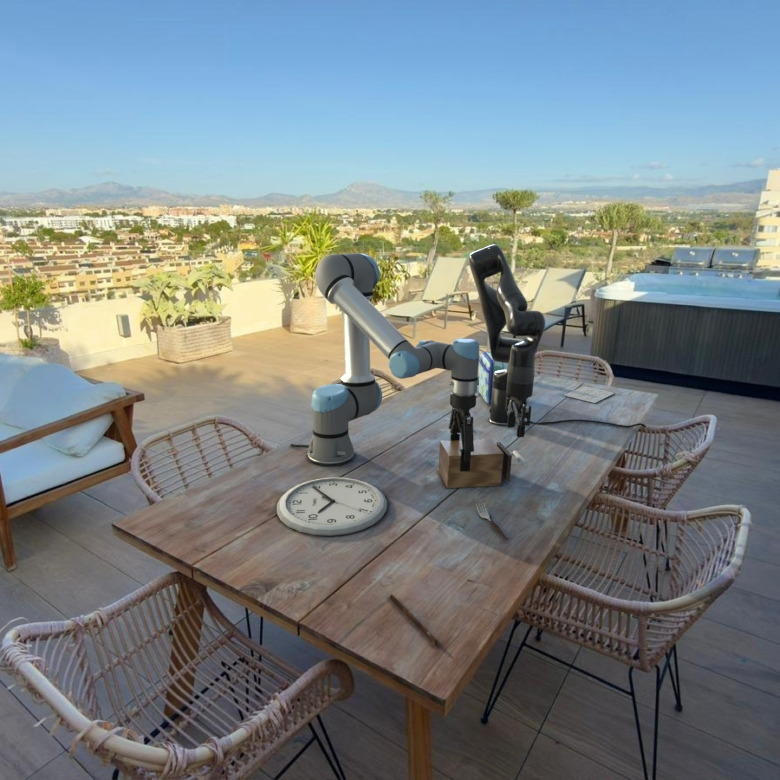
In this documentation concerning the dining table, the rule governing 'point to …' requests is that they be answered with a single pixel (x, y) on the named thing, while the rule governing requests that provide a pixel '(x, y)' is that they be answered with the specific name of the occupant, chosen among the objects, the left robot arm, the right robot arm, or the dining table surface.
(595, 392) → the invitation card
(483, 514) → the fork
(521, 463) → the drawer
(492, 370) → the lunch box
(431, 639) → the dark brown rod
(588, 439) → the dining table surface
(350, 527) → the wall clock
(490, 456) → the cabinet
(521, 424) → the right robot arm
